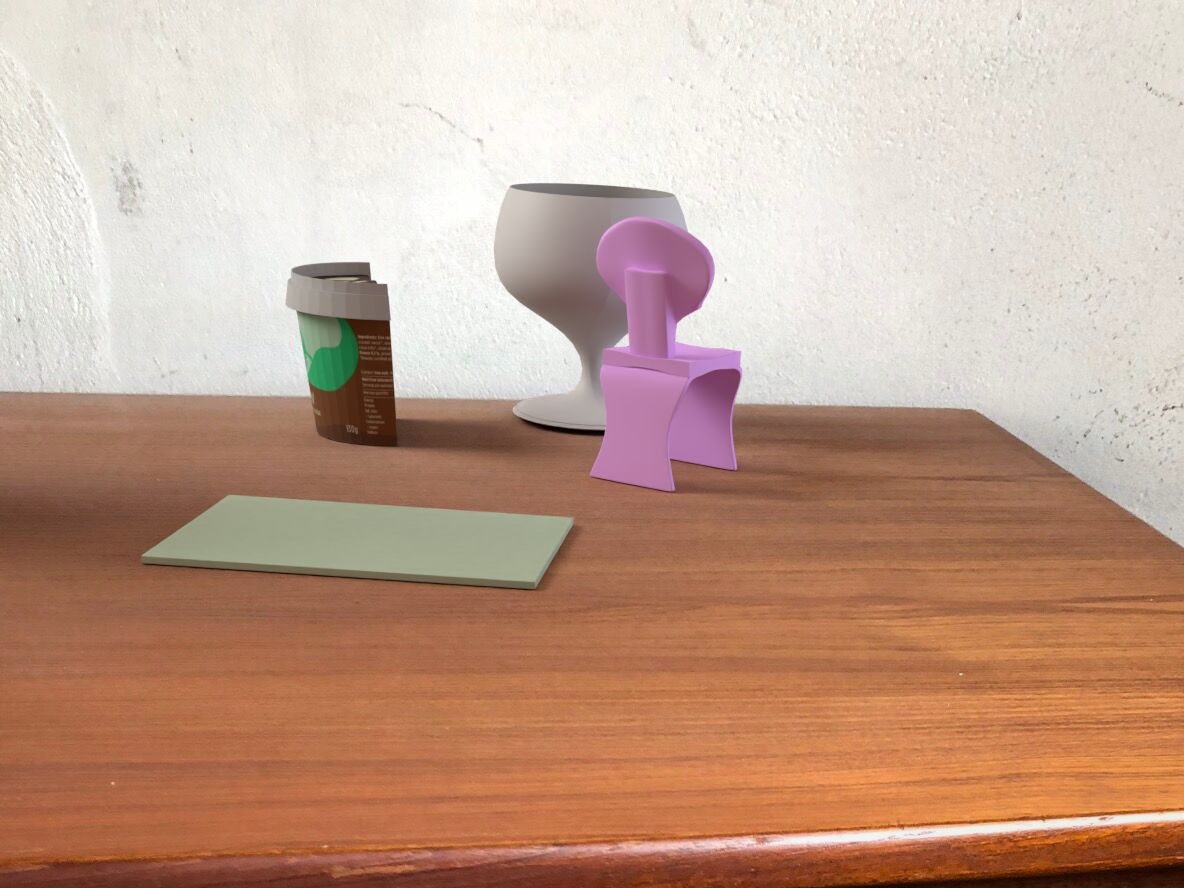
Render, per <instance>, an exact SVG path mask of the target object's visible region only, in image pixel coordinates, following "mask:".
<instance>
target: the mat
mask: <svg viewBox="0 0 1184 888" xmlns="http://www.w3.org/2000/svg"><path fill="white" fill-rule="evenodd" d="M573 526H574V517H571V516H570V517H568V516H555V515H543V514H542V515H540V514H524V513H509V512H495V511H479V510H466V509H465V510H464V509H449V508H435V507H419V506H407V505H404V506H403V505H391V504H389V505H388V504H374V503H360V502H345V501H328V500H314V499H313V500H312V499H299V498H298V499H297V498H296V499H295V498H284V497H267V496H253V495H239V494H228V495H226V496H225V497H224V498H222V499H221V500H218V501H217V503H215V504H213V505H212V506H210V507H209V508H208V509H207V510H204V512H202V513H200V514H199V515H198V516H196V517H195V518H194V519H192V520H191V521H189V522H187V523H186V524H185V525H183V526H182V527H180V528H179V529H177V530H176V531H175V532H173V533H171V534H170V535H169V536H167V537H166V538H164V539H163V540H161V541H160V542H159V543H158V544H156V545H154V546H153V547H152V548H150V549H148V550H147V551H146V552H144V553H143V554H141V555H140V559H141V563H142V564H145V565H147V564H148V565H162V566H177V567H191V568H207V569H220V570H221V569H222V570H236V571H250V572H251V571H253V572H265V573H266V572H268V573H280V574H283V573H284V574H297V575H298V574H299V575H314V576H325V577H328V576H329V577H341V578H357V579H358V578H359V579H370V580H371V579H373V580H386V581H387V580H388V581H401V582H402V581H403V582H418V583H431V584H432V583H433V584H449V585H463V586H478V587H490V588H491V587H493V588H508V589H523V590H536V588H537V587H538V585H539V583H540V582H541V580H542V578H543V577H544V575H545V573H546V572H547V570H548V568H549V567H550V564H551V563H552V562H553V560H554V558H555V556H556V555H557V553H558V551H559V550H560V548H561V546H562V544H563V543H564V541H565V539H566V537H567V536H568V534H569V532H570V531H571V530H572V528H573Z"/></svg>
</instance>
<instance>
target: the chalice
mask: <svg viewBox="0 0 1184 888" xmlns="http://www.w3.org/2000/svg"><path fill="white" fill-rule="evenodd" d="M500 204H501V205H500V208H499V211H498V215H497V220H496V225H495V226H496V227H495V231H494V243H493V256H494V258H493V259H494V268H495V271H496V273H497V276H498V279H499V282H500V283H501V284H502V286H503V288H505V291H506V292H507V293H508V294H510V296H512V297H513V298H514V299H515V300H516V301H517V302H519V304H521V305H522V306H524V307H525V308H526V309H528V310H529V311H531V312H532V313H534V314H536V315H537V316H539V317H540V318H542V319H543V320H545V321H546V322H548V323H549V324H550V325H552V326H553V327H554V328H556V329H557V330H558V331H559V332H561V333H562V334H563V335H564V336H565V337H566V338H567V339H568V340H569V342H570V343H571V344H572V345H573V347H574V349H575V350H576V352H577V354H578V356H579V360H580V364H581V373H580V380H579V381H578V383H577V384H576V385H575V387H574V389H572V390H571V391H569V392H567V393H555V394H553V393H552V394H545V395H541V396H535V397H530V398H527V399H523V400H521V401H519V402H517V404H515V406H513V407H512V413H513V414H514V415H515V416H517V417H518V418H521V419H523V420H526V421H529V422H532V423H536V424H539V425H544V426H549V427H555V428H560V429H567V430H568V429H569V430H580V431H597V432H598V431H601V432H605V429H606V408H605V401H604V396H603V391H602V386H601V380H600V371H601V368H602V366H603V349H606V348H611V347H616V346H617V344H618V343H619V342H621V340H622V339H624V338H625V336H627V335H628V318H627V304H626V303H625V302H624V301H623V300H622V299H621V298H620V297H619V296H618V295H617V293H616V292H614V291H613V290H612V289H611V288H610V287H609V286H608V285H607V284H606V282H605V281H604V280H603V278H602V277H601V275H600V273H599V270H598V267H597V261H596V256H597V248H598V245H599V242H600V240H601V237H602V236H603V235H604V233H605V232H606V231H607V230H608V229H609V228H610V227H612V226H613V225H614V224H616V223H618V222H620V221H622V220H624V219H627V218H631V217H649V218H656V219H661V220H664V221H667V222H670V223H672V224H674V225H676V226H678V227H680V228H682V229H684V230H685V231H687V232H689V230H688V226H687V222H686V218H685V215H684V212H683V209H682V207H681V205H680V202H679V200H678V198H677V196H676V194H674V193H672V192H667V191H663V190H656V189H649V188H641V187H640V188H639V187H633V186H632V187H631V186H620V185H607V184H606V185H605V184H591V183H589V184H587V183H567V182H566V183H564V182H563V183H562V182H530V183H528V182H527V183H515V184H511V185H509V187H508V188H507V190H506V192H505V194H504V196H503V200H502V202H501V203H500Z"/></svg>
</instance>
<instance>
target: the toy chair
mask: <svg viewBox="0 0 1184 888" xmlns="http://www.w3.org/2000/svg"><path fill="white" fill-rule="evenodd" d="M596 261H597V267H598V270H599V273H600V275H601V277H602V278H603V280H604V281H605V282H606V284H607V285H608V286H609V287H610V288H611V289H612V290H613V291H614V292H616V293H617V295H618V296H619V297H620V298H621V299H622V300H623V301H624V302H625V303H626V304H627V318H628V334H627V335H628V345H626V346H615V347H611V348H606V349H603V366H602V368H601V371H600V380H601V386H602V391H603V396H604V401H605V408H606V429H605V431H604V436H603V440H602V443H601V446H600V449H599V450H598V451H599V452H598V454H597V457H596V459H595V460H594V464H593V465H592V468H591V470H590V472H589V476H590V477H593V478H596V479H602V480H606V481H612V482H616V483H617V482H618V483H623V484H626V485H627V484H628V485H633V486H639V487H644V488H649V489H654V490H659V491H665V492H674V491H675V490H676V489H675V482H674V477H673V470H672V465H671V460H673V461H679V462H684V463H689V464H695V465H701V466H705V467H712V468H717V469H721V470H722V469H723V470H728V471H736V470H738V463H737V458H736V453H735V446H734V439H733V413H734V407H735V403H736V399H737V395H738V393H739V388H740V386H741V383H742V379H743V378H742V377H743V369H742V367H741V360H742V359H741V356H742V352H741V350H736V349H730V348H722V347H720V348H717V347H704V346H698V345H692V344H688V343H684V342H683V343H682V342H679V341H677V340H676V339H677V338H676V337H677V327H678V323H680V322H681V321H682V320H683V319H684V318H686V317H687V316H689V315H690V314H693V313H694V312H697V311H698V310H700V309H702V307H703V304H704V302H705V300H706V298H707V297H708V295H709V293H710V291H711V289H712V286H713V283H714V280H715V274H716V269H715V266H716V265H715V261H714V258H713V256H712V253H711V252H710V250H709V248H708V247H707V246H706V245H705V244H704V243H703V242H702V241H701V240H700V239H699V238H698V237H696V236H695V235H694V234H692V233H690V232H689V231H688V232H687V231H685V230H684V229H682V228H680V227H678V226H676V225H674V224H672V223H670V222H667V221H664V220H661V219H656V218H649V217H631V218H627V219H624V220H622V221H620V222H618V223H616V224H614V225H613V226H612V227H610V228H609V229H608V230H607V231H606V232H605V233H604V235H603V236H602V237H601V240H600V242H599V245H598V248H597V256H596Z"/></svg>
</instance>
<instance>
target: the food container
mask: <svg viewBox="0 0 1184 888" xmlns="http://www.w3.org/2000/svg"><path fill="white" fill-rule="evenodd" d="M388 287H389V286H388V283H378V281H377V280H375V279H372V273H371V262H370V261H369V262H368V261H340V262H339V261H336V262H335V261H333V262H332V261H331V262H318V263H308V264H302V265H301V264H300V265H297V266H294V267H292V268H291V269H290V278H288V279H287V283H286V295H285V304H284V305H285V306H286V308H288V309H291V310H293V311H296V316H297V322H298V328H299V335H300V341H301V347H302V352H303V358H304V363H305V364H304V365H305V369H306V370H305V371H306V375H307V376H306V377H307V382H308V388H309V393H310V399H311V404H312V410H313V417H314V423H315V428H316V429H315V430H316V432H317V434H318V435H319V436H322V437H323V438H326V439H328V438H329V439H328V440H332V441H336V442H342V443H347V442H348V444H353V445H354V444H355V445H366V446H383V447H384V446H387V447H389V446H391V447H393V446H394V447H396V446H397V447H398V446H399V441H398V426H397V424H398V423H397V410H396V396H395V380H394V379H395V378H394V377H395V376H394V365H393V364H394V363H393V348H392V334H391V320H392V318H391V307H390V297H389V289H388Z"/></svg>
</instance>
